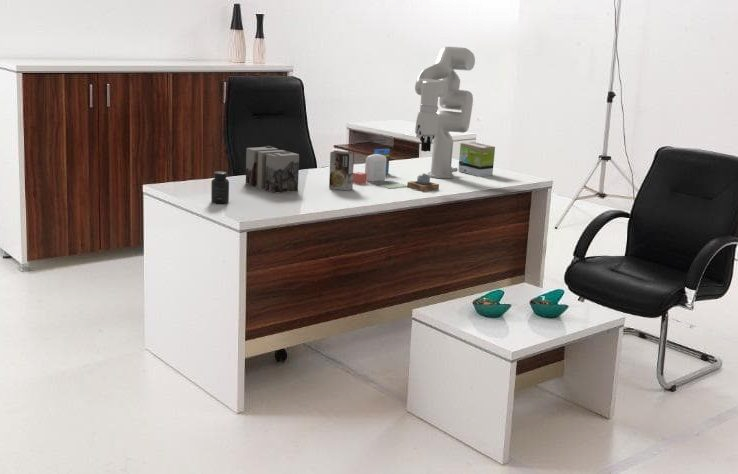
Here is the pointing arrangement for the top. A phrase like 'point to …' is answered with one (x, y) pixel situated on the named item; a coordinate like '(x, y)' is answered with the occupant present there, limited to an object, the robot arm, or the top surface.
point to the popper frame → (423, 186)
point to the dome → (423, 179)
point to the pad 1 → (383, 182)
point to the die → (359, 178)
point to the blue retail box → (386, 153)
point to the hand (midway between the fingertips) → (425, 150)
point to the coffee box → (341, 170)
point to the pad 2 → (394, 185)
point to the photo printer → (375, 167)
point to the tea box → (476, 159)
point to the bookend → (272, 169)
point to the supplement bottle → (220, 188)
